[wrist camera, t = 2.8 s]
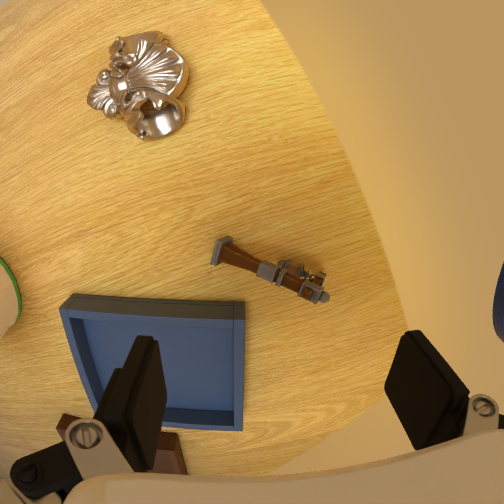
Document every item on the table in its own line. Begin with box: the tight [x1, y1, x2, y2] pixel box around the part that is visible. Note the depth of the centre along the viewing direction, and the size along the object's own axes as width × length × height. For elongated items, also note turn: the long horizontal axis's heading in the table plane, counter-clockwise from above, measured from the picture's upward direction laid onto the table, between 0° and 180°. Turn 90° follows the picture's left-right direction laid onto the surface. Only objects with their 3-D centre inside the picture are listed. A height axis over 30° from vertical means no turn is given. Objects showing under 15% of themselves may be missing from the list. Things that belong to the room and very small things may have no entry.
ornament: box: [87, 31, 189, 141], centre depth 16 cm, size 8×7×4 cm
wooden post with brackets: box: [210, 236, 330, 305], centre depth 21 cm, size 2×8×4 cm, turn 73°
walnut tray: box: [56, 414, 187, 475], centre depth 30 cm, size 15×13×3 cm
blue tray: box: [59, 294, 245, 431], centre depth 24 cm, size 15×13×3 cm
